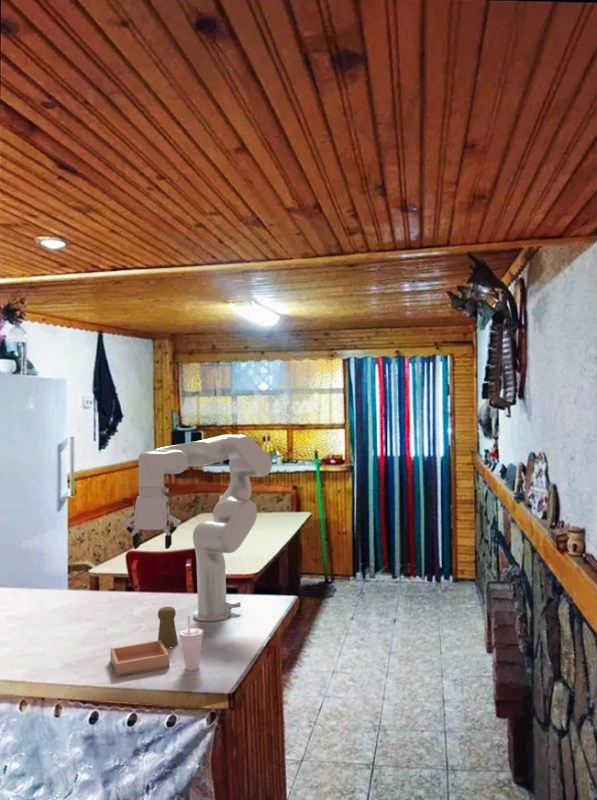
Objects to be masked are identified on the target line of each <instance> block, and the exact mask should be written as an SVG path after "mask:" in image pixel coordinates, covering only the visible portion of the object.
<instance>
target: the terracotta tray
mask: <svg viewBox="0 0 597 800" xmlns="http://www.w3.org/2000/svg"><path fill="white" fill-rule="evenodd" d="M110 663H111V665H112V668H113V671H114V674H115V677H116V678H120V677H121V678H122V677H125V676H132V675H136V674H137V675H138V674H142V673H147V672H152V671H158V670H162V669H163V670H164V669H169V668H170V654H169V652H168V650H167V649H166V648H165V647H164V645H163V643H162V642H161V640H158V639H157V640H154V641H147V642H143V643H142V642H141V643H137V644H130V645H123V646H118V647H112V648H110Z"/></svg>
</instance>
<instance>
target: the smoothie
mask: <svg viewBox="0 0 597 800" xmlns="http://www.w3.org/2000/svg"><path fill="white" fill-rule="evenodd" d="M203 636H204V630H203V629H202V628H198V627H197V628H196V627H191V617H190V615H187V628H186V629H183V630H182V629H181V631H179V638H180V641H181V642H180V643H181V646H182V647H181V648H182V654H183V661H184V668H185V670H186V671H196V670H199V668H200V664H201V653H202V641H203Z"/></svg>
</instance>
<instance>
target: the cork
mask: <svg viewBox="0 0 597 800" xmlns="http://www.w3.org/2000/svg"><path fill="white" fill-rule="evenodd" d="M176 615H177V614H176V609H175V608H174V607H172V606H164V607H161V608H159V610H158V611H157V617H158V619H159V627H158V636H157V641H158V640H161V642H162V643H163V645H164V647H165V648H167V649H171V648H170V647H172V648H175V647H177V646H178V645H179V641H178V636H177V629H176V623H175V617H176ZM177 644H178V645H177ZM176 645H177V646H176ZM174 646H175V647H174Z"/></svg>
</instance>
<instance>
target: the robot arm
mask: <svg viewBox="0 0 597 800" xmlns="http://www.w3.org/2000/svg"><path fill="white" fill-rule="evenodd" d="M226 460H229V463H228V468H229V475H230V476H229V477H230V482H229V484H228V487H227V488H226V491H225V492H224V493H223V494H222V496H221V497H220V499H219V500H218V502H217V504H216V505H215V507H214V508H213V511H212V518H213V520H214V521H210V520H209V521H208V520H205V521H202V522H199V523H198V524H197V525H196V526H195V527H194V529H193V532H192V542H193V546H194V551H195V557H196V559H195V560H196V581H197V582H196V585H197V610H195V611H194V612H193V619H195V620H197V621H199V622H208V623H209V622H218V621H223V620H226V619H228V618H230V617H231V616H232V609H234V608H235V609H236V608H241V601H240V600H238V601H235V600H230V601H228V600H227V583H226V581H227V580H226V560H225V557H224V554H232V553H235V552H237V551H238V549H239V548H240V547H241V545H242V544H243V542H244V541H245V539H246V538H247V536H248V535H249V533H250V532H251V531H252V529H253V527H254V525H255V523H256V520H257V517H258V509H257V506H256V504H255V503H254V502H253V501H252V500H251V499H250V498H251V495H252V492H253V491H252V490H253V489H252V485H251V482H250V477H253V478H254V477H255V478H262V477H266V476H267V475H269V474H270V472H271V471H272V468H273V467H272V466H273V463H272V462H273V461H272V458H271V456H270V455H269V454H268V453H267V452H266V451H265V449H263V448H262V447H261V446H260V445H259V444H258V443H257V442H256V441H255V440H254V439H252V438H251V437H250V436H247V435H245V434H221V435H219V436H214V437H210V438H205V439H202V440H197V441H190V442H185V443H179V444H175V445H168V446H163V447H160V448H159V447H158V448H155V449H153V450H152V451H143V452H141V453H139V455H138V496H137V497H136V500H135V501H136V502H135V508H134V515H133V516H131V517H129V518H127V519H126V520H124V521H123V524H124V527H125V528H126V531H128V532H129V534H130V535H131V536H132V546H133V549H134V550H137V549H138V548H140V534H139V532H140V531H143V530H146V531H149V530H150V531H152V530H153V531H155V530H162V531H163V532H164V533H165V536H164V549H165V550H169V549H170V548H171V546H172V544H173V542H172V541H173V540H172V539H173V538H172V535H173V533H175V531H176V530H177V529H178V528H179V525H180V523H181V520H180V519H178V518H176V517H175V516H173V515H170V514H171V513H170V505H169V499H168V496H167V495H166V493H169V490H170V489H169V487H166V486H165V474H172V475H173V474H174V475H177V474H181V473H183V472H184V471H186V469H187V468H188V467H202V466H208V465H212V464H216V463H219V462H223V461H226ZM133 521H134V522H133ZM132 522H133V523H134V527H133V526H132V525H131V523H132ZM171 522H172V523H173V525H172V527H170V524H171Z"/></svg>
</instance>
